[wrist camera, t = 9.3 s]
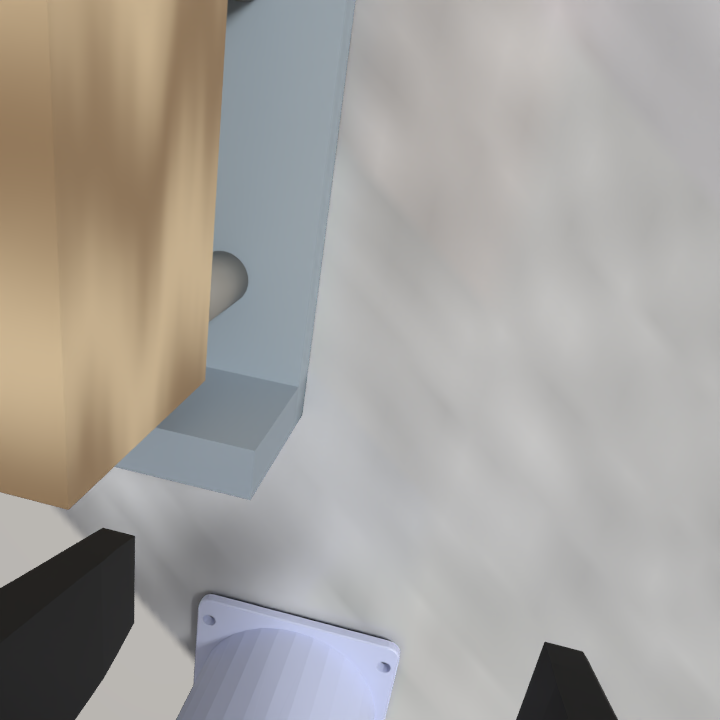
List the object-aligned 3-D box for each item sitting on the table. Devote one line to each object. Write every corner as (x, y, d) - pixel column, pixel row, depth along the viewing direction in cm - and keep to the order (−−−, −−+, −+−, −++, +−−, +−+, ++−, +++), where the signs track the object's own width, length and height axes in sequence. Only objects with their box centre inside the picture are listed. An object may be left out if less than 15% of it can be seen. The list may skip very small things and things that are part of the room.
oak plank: (49, -224, 12) (-306, -503, 7) (239, -202, 12) (27, -483, 6) (69, 350, 17) (-126, 459, 12) (205, 380, 17) (68, 509, 11)
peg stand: (302, 415, 20) (250, 500, 16) (82, 365, 21) (-27, 432, 17) (386, -239, 14) (339, -416, 9) (63, -271, 15) (-124, -447, 10)
